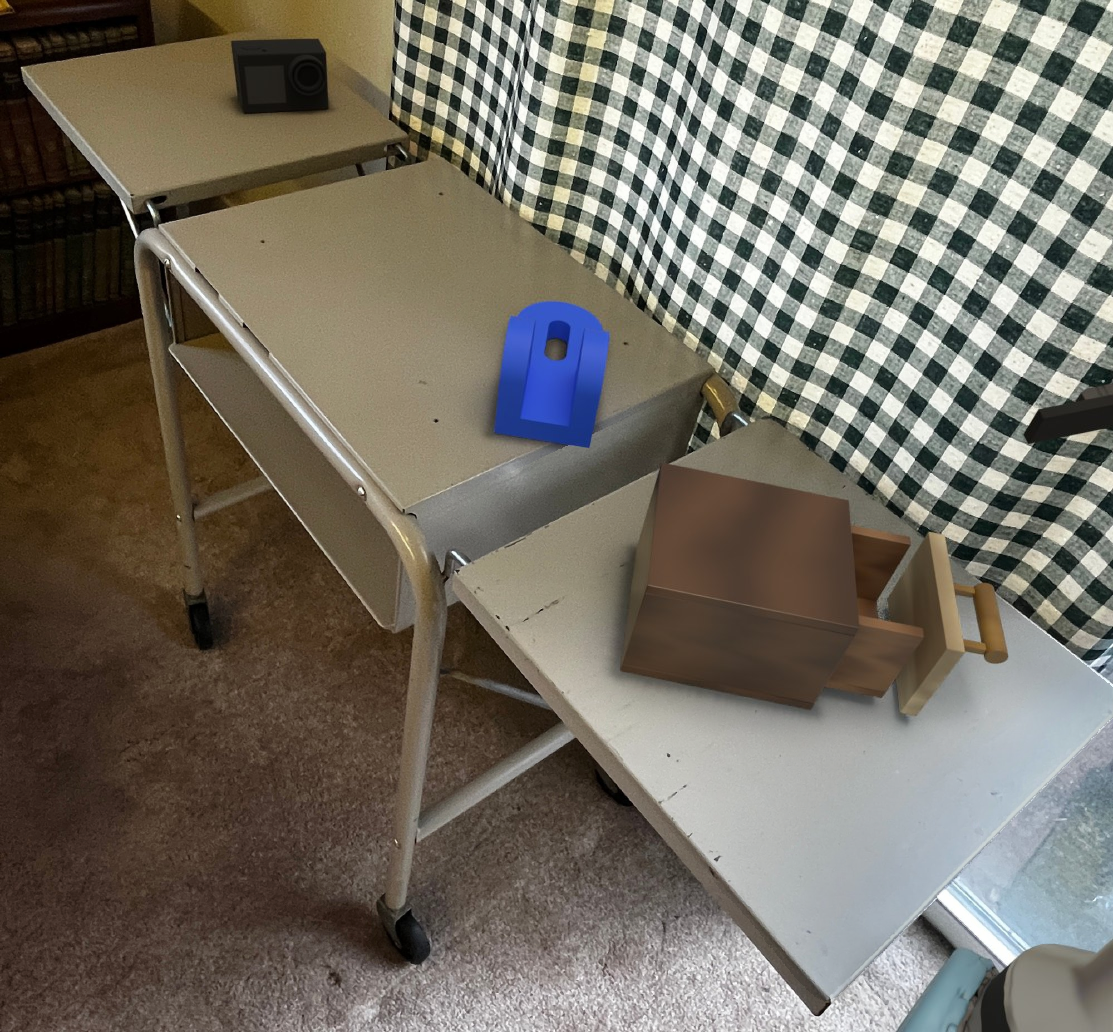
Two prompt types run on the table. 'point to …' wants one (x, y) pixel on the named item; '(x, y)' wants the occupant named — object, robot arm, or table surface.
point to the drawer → (912, 621)
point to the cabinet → (741, 587)
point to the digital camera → (280, 75)
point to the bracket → (551, 375)
